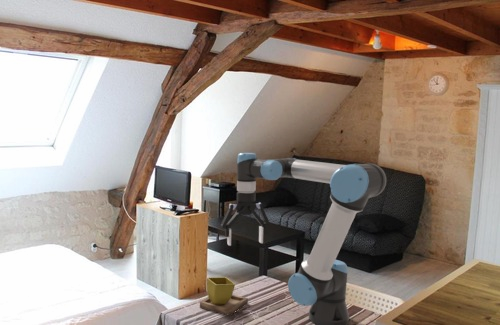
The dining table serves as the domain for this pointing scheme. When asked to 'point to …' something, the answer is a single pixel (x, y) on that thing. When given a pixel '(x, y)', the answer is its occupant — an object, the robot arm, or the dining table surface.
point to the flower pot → (219, 289)
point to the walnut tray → (225, 305)
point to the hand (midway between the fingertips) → (245, 243)
